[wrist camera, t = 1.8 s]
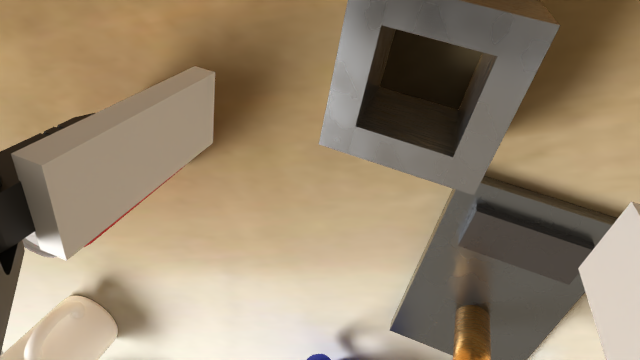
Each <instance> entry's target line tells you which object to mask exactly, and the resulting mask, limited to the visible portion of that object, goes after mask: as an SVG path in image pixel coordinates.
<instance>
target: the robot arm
mask: <svg viewBox="0 0 640 360" xmlns="http://www.w3.org/2000/svg"><path fill="white" fill-rule="evenodd" d="M214 94H215V72H213V71H210V70H206V69H203V68H200V67H197V66H194V67H192V68H190V69H187V70H185V71H183V72H181V73H179V74H177V75H175V76H173V77H171V78H169V79H166V80H164V81H162V82H160V83H158V84H156V85H154V86H152V87H150V88H148V89H145V90H143V91H141V92H139V93H137V94H135V95H133V96H131V97H129V98H127V99H125V100H122V101H120V102H118V103H116V104H114V105H112V106H110V107H108V108H106V109H104V110H101V111H99V112H97V113H92V114H88V115H83V116H79V117H74V118H72V119H70V120H68V121H66V122H64V123H61V124H59V125H58V127H57V128H56V127H53V128H51V129H48V130H46V131H44V133H43V134H41V133H40V134H38V135H35V136H33V137H31V138H29V139H27V140H25V141H23V142H20V143H18V144H16V145H14V146H12V147H10V148H7V149H5V150H3V151H1V152H0V354H1V350H2V345H3V341H4V337H5V333H6V328H7V324H8V320H9V315H10V311H11V307H12V303H13V298H14V294H15V290H16V286H17V281H18V277H19V273H20V268H21V264H22V260H23V256H24V244H23V241H22V240H23V239H24V238H26V237H27V236H29V235H30V234H32V233H33V232H35V234H36V237H37V240H38V244H39V247H40V250H43V251H45V252H47V253H50V254H52V255H54V256H57V257H59V258H62V259H64V260H66V261H67V260H68V259H69V258H70V257H72V256H73V255H74V254H75V253H77V252H78V251H79V250H80V249H82V248H83V247H84V246H85V245H87V244H88V243H89V242H90V241H92V240H93V239H94V238H95V237H96V236H98V235H99V234H100V233H101V232H103V231H104V230H105V229H106V228H108V227H109V226H110V225H111V224H113V223H114V222H115V221H116V220H118V219H119V218H120V217H121V216H123V215H124V214H125V213H126V212H128V211H129V210H130V209H131V208H133V207H134V206H135V205H136V204H138V203H139V202H140V201H141V200H143V199H144V198H145V197H146V196H148V195H149V194H150V193H151V192H153V191H154V190H155V189H156V188H157V187H159V186H160V185H161V184H162V183H164V182H165V181H166V180H167V179H169V178H170V177H171V176H172V175H174V174H175V173H176V172H177V171H179V170H180V169H181V168H182V167H184V166H185V165H186V164H187V163H189V162H190V161H191V160H192V159H194V158H195V157H196V156H197V155H199V154H200V153H201V152H202V151H204V150H205V149H206V148H207V147H209V146H210V145H211V144H212V143H213V126H214ZM578 269H579V273H580V276H581V279H582V282H583V286H584V289H585V292H586V295H587V299H588V302H589V305H590V309H591V312H592V315H593V318H594V322H595V325H596V328H597V331H598V335H599V338H600V341H601V344H602V348H603V351H604V354H605V358H606V360H640V204H638V203H635V202H631V203H630V204H629V205H628V206H627V208H626V209H625V210H624V211H623V213H622V214H621V215H620V216H619V218H618V219H617V220H616V221H615V223H614V224H613V225H612V226H611V228H610V229H609V230H608V232H607V233H606V234H605V235H604V237H603V238H602V239H601V240H600V242H599V243H598V244H597V245H596V247H595V248H594V249H593V250H592V252H591V253H590V254H589V255H588V257H587V258H586V259H585V260H584V262H583V263H582V264H581V265H580V267H579V268H578Z"/></svg>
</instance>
